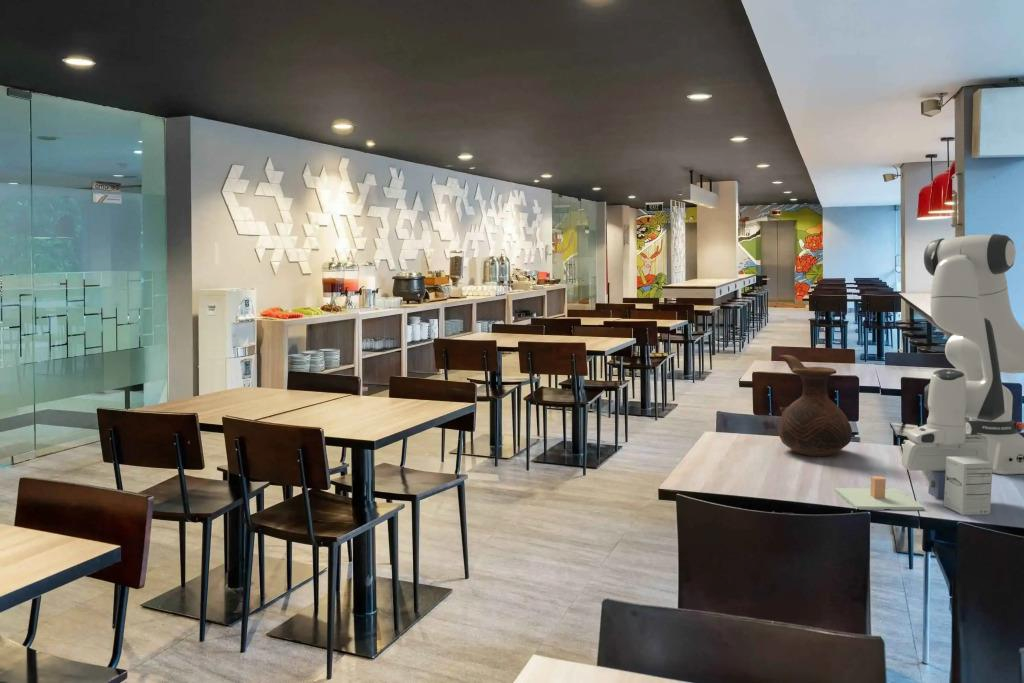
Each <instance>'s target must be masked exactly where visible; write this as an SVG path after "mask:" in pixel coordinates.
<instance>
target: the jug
mask: <svg viewBox="0 0 1024 683" xmlns="http://www.w3.org/2000/svg"><path fill="white" fill-rule="evenodd" d="M779 359H780V360H782V361H784V362H785V363H786V364H787V365H788V367H789V369H790V370H791V372H792V373H793V374H795V375H798V376H799V377H800V378H801V379H800V380H801V381H802V386H803V387H802V389H803V390H802V394H801V396H800V397H799V398H797V399H796V400H794V401H793V402H791V404H790V405H789V406H786V407H785V406H784V407H781V406H780V407H779V409H780V413H781V418H780V422H779V425H778V428H777V429H778V437H779V438H780V440H781V442H782V444H783V445H785V446H786V447H787V448H789V449H790V450H793V451H795V453H797V454H799V453H800V455H805V456H813V457H827V456H832V455H835V454H837V453H838V452H840V451H841V450H842V449H844V448H845V447H846V446H848V445H849V444H850V442H851V440H852V437H853V429H852V426H851V423H850V422H849V420H848V418H847V416H846V414H845V413H844V411H843V410H842V409H841V408H840V407H839V406H838V405H837V404H836V403H835V402H834V401H832V400H831V399H830V398H829V395H828V391H827V388H828V387H827V384H828V379H829V377H830V376H832V375H835V374H837V369H835V368H832V367H824V366H805V365H804V363H803V362H801V361H800V360H799V359H798V358H797V357H795V356H793V355H790V354H781V355H779Z"/></svg>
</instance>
